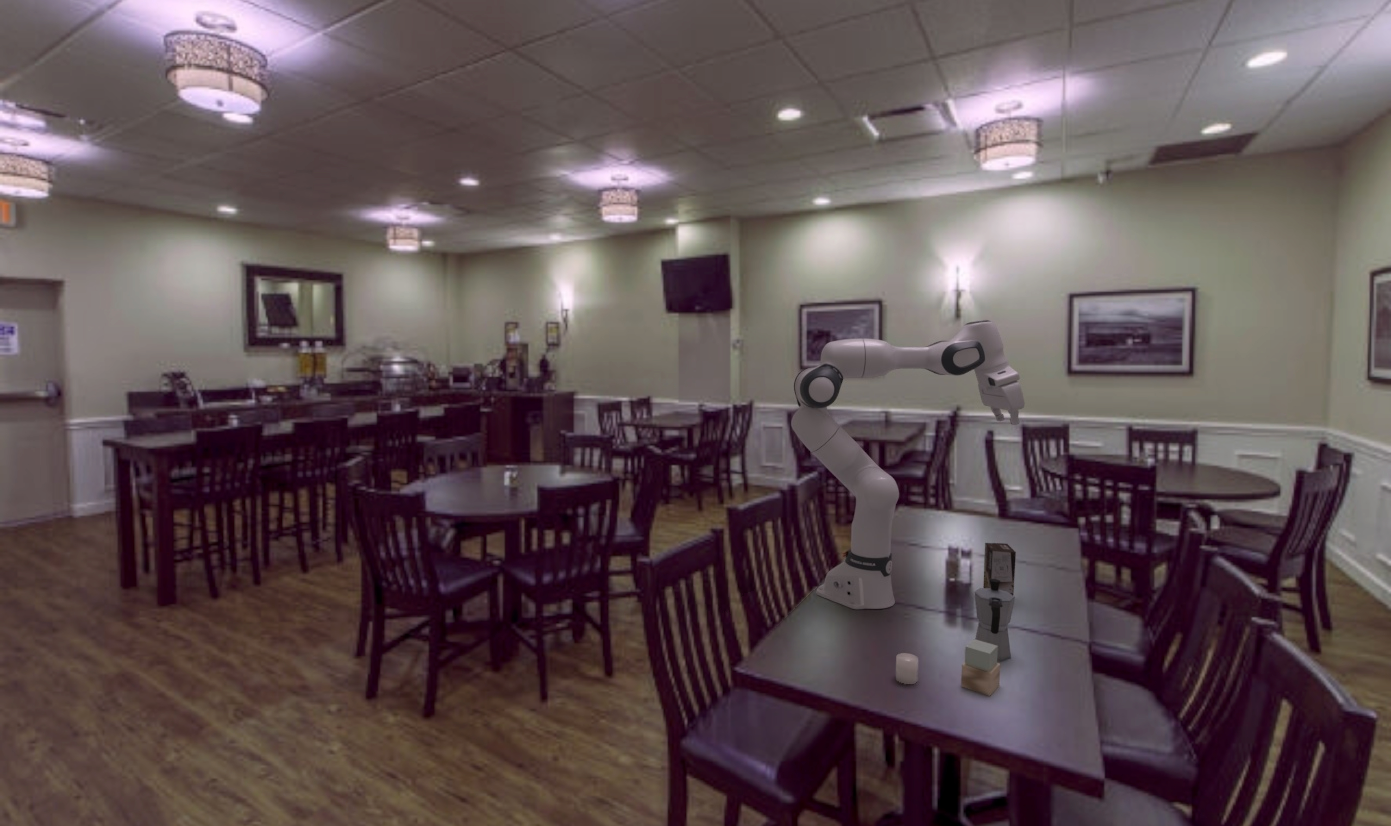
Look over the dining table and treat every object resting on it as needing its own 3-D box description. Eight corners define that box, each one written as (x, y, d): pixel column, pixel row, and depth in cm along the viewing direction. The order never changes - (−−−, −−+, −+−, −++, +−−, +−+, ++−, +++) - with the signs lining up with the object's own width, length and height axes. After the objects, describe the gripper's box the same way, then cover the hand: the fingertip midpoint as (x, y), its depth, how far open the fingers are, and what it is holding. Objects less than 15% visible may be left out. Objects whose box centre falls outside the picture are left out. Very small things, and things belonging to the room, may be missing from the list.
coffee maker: (971, 638, 165) (974, 569, 164) (1010, 644, 162) (1013, 573, 160) (972, 665, 151) (976, 589, 150) (1015, 672, 148) (1018, 594, 147)
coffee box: (1013, 608, 185) (1016, 552, 183) (989, 606, 186) (991, 550, 185) (1005, 596, 194) (1008, 542, 192) (982, 594, 195) (984, 541, 194)
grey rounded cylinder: (892, 680, 145) (892, 658, 144) (901, 672, 148) (901, 651, 148) (912, 687, 142) (912, 664, 141) (921, 679, 145) (921, 657, 145)
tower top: (964, 664, 142) (965, 646, 141) (973, 656, 145) (974, 639, 145) (988, 671, 138) (989, 653, 138) (997, 663, 142) (997, 645, 142)
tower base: (960, 686, 142) (961, 664, 142) (970, 676, 146) (971, 655, 146) (989, 696, 138) (990, 673, 138) (999, 685, 142) (1000, 663, 142)
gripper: (968, 377, 194) (982, 421, 195) (998, 381, 174) (1013, 430, 175) (989, 370, 194) (1003, 415, 195) (1021, 373, 173) (1036, 422, 175)
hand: (1008, 422), depth 185 cm, fingers open, 8 cm apart
